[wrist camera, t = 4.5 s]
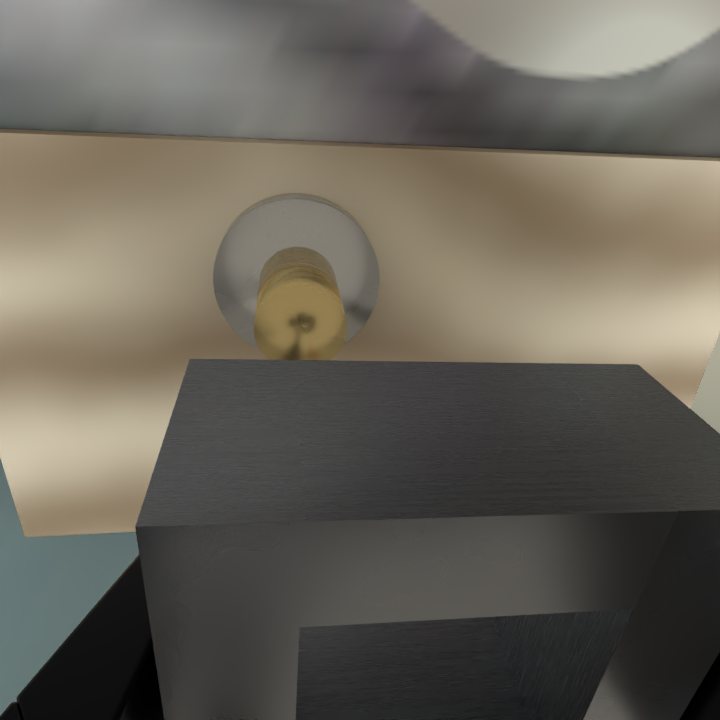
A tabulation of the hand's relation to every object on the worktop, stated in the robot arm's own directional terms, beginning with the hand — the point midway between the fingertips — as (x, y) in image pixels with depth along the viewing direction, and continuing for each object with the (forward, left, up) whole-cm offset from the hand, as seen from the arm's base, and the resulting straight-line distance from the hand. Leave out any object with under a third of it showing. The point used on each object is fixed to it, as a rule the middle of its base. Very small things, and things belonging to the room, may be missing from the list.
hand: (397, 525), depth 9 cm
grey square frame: (0, 0, 0) cm, 0 cm away
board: (-3, -1, -12) cm, 12 cm away
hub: (+1, +2, -12) cm, 12 cm away
